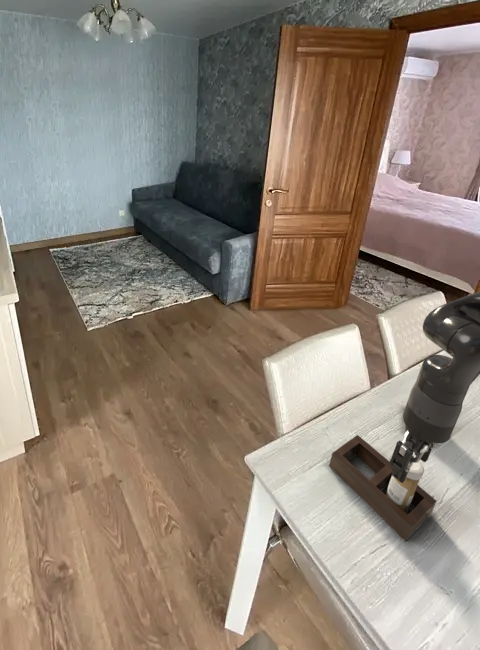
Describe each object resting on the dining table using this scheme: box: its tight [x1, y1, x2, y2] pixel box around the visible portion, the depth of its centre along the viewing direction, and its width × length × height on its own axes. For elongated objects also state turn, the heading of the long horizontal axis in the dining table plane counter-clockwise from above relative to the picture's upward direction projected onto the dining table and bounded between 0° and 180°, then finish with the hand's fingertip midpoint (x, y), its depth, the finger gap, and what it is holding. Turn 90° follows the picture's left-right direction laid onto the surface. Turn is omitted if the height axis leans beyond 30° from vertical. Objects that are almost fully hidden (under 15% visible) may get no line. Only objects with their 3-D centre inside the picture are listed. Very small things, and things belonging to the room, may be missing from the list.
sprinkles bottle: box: [385, 460, 425, 515], centre depth 72 cm, size 5×5×13 cm
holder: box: [328, 434, 438, 542], centre depth 77 cm, size 10×18×4 cm, turn 30°
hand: (409, 467), depth 70 cm, fingers open, 8 cm apart
